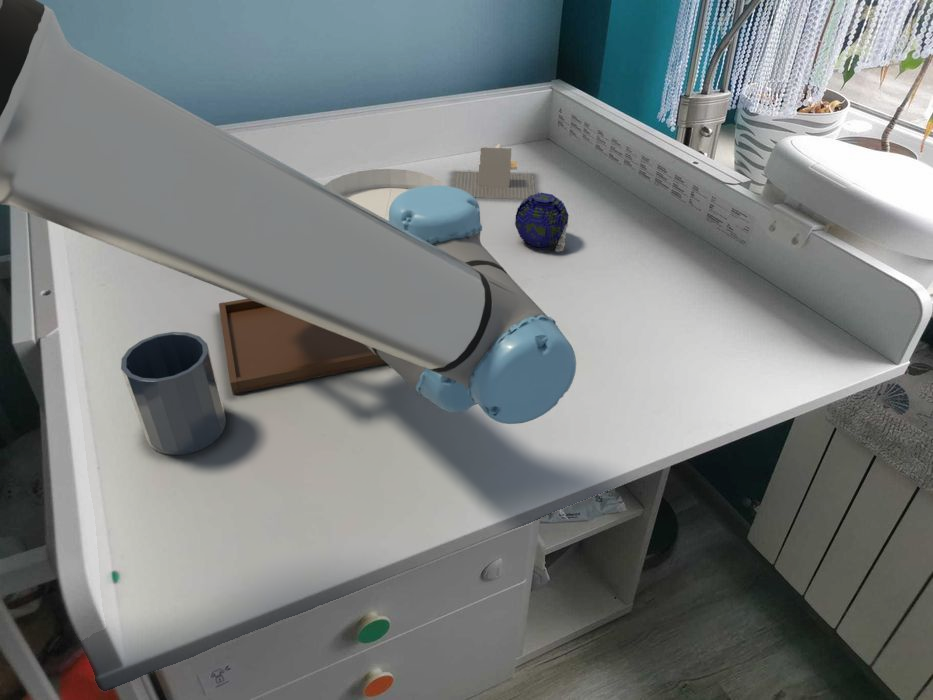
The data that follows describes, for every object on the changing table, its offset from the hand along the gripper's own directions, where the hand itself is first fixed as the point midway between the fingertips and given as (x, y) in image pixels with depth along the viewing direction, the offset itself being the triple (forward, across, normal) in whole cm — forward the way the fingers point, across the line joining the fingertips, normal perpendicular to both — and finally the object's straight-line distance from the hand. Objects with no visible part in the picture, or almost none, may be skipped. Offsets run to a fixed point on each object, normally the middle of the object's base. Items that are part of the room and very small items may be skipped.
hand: (272, 227), depth 85 cm
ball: (-5, +42, -14) cm, 45 cm away
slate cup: (-12, -19, -14) cm, 26 cm away
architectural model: (+16, +51, -14) cm, 55 cm away
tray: (-5, 0, -14) cm, 15 cm away
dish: (+16, +26, -14) cm, 34 cm away
